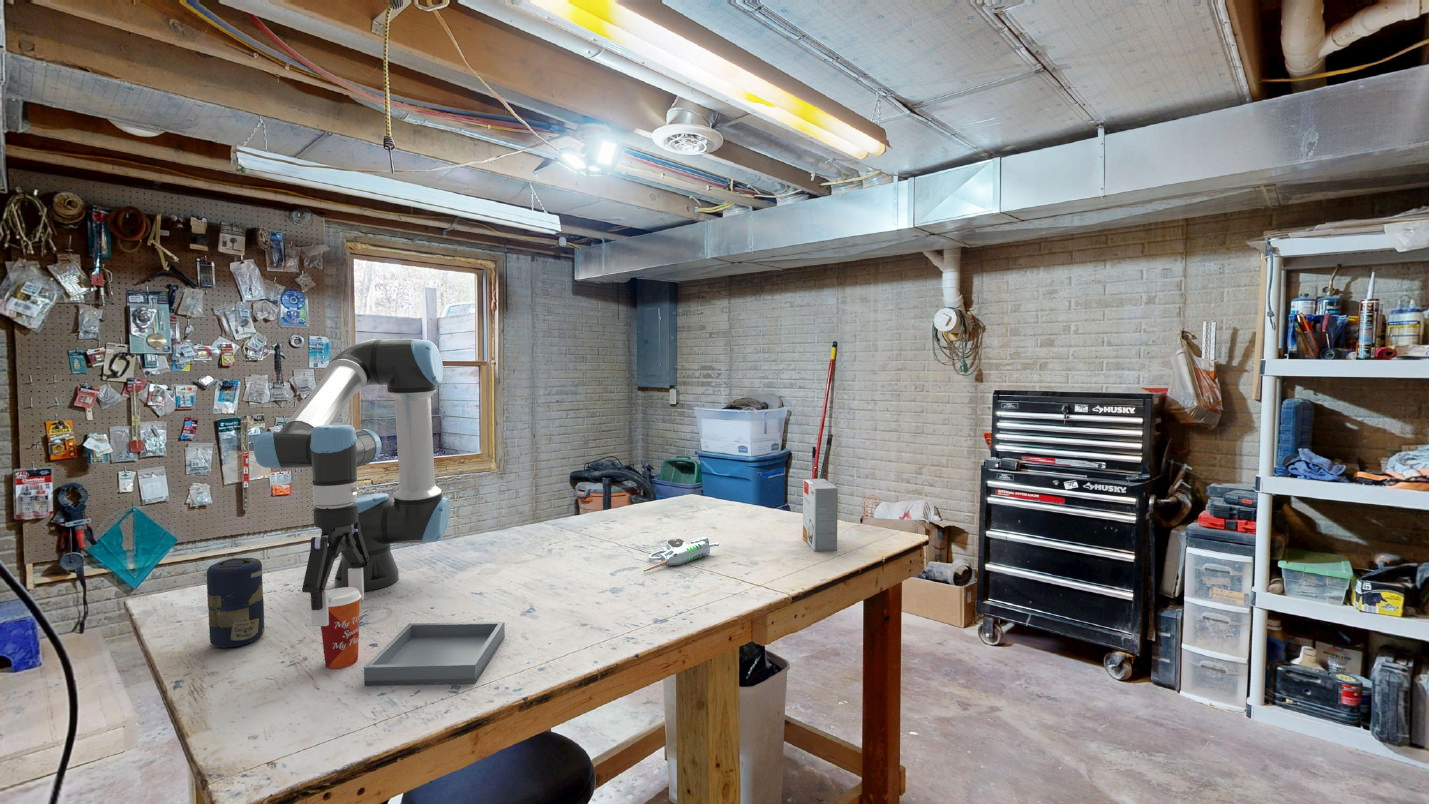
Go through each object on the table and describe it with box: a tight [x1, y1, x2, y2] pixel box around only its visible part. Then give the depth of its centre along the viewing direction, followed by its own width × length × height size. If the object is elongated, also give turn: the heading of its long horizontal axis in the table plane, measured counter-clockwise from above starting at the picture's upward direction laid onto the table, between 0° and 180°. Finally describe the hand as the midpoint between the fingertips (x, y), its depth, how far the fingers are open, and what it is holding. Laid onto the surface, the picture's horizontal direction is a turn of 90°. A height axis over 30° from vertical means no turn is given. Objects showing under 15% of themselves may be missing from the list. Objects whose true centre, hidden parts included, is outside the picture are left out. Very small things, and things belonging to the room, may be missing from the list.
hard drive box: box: [802, 478, 839, 552], centre depth 212 cm, size 16×8×20 cm, turn 6°
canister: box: [206, 557, 265, 648], centre depth 139 cm, size 10×10×18 cm
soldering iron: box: [643, 536, 720, 573], centre depth 197 cm, size 6×28×16 cm
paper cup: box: [320, 587, 362, 670], centre depth 130 cm, size 8×8×14 cm
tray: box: [363, 621, 506, 687], centre depth 131 cm, size 20×20×4 cm
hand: (339, 612), depth 129 cm, fingers open, 13 cm apart
